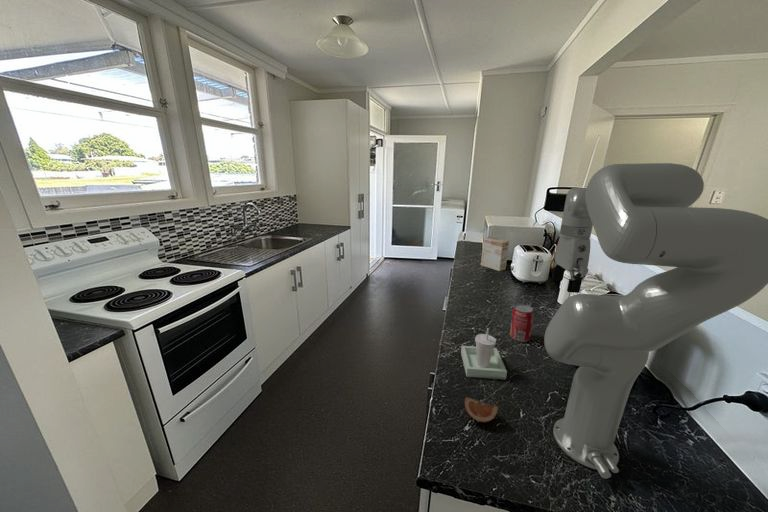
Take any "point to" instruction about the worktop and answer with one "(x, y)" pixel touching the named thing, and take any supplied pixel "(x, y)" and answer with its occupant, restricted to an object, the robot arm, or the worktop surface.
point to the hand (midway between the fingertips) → (564, 285)
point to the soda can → (521, 323)
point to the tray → (473, 370)
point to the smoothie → (484, 349)
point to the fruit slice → (480, 410)
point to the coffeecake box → (494, 253)
